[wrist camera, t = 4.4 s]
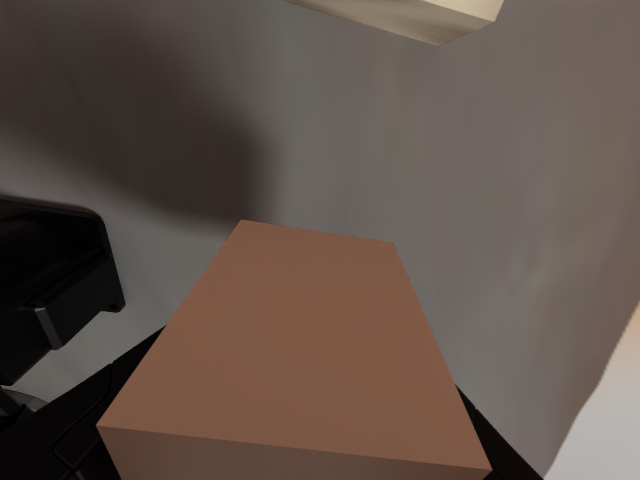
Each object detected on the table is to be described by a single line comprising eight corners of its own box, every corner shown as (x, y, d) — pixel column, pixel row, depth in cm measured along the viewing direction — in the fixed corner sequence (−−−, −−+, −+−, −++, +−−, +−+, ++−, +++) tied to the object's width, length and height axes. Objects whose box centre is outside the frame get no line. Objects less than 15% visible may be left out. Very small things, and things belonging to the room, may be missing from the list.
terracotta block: (239, 328, 11) (155, 549, 6) (241, 219, 8) (95, 425, 3) (358, 344, 11) (385, 569, 6) (393, 243, 9) (493, 470, 3)
